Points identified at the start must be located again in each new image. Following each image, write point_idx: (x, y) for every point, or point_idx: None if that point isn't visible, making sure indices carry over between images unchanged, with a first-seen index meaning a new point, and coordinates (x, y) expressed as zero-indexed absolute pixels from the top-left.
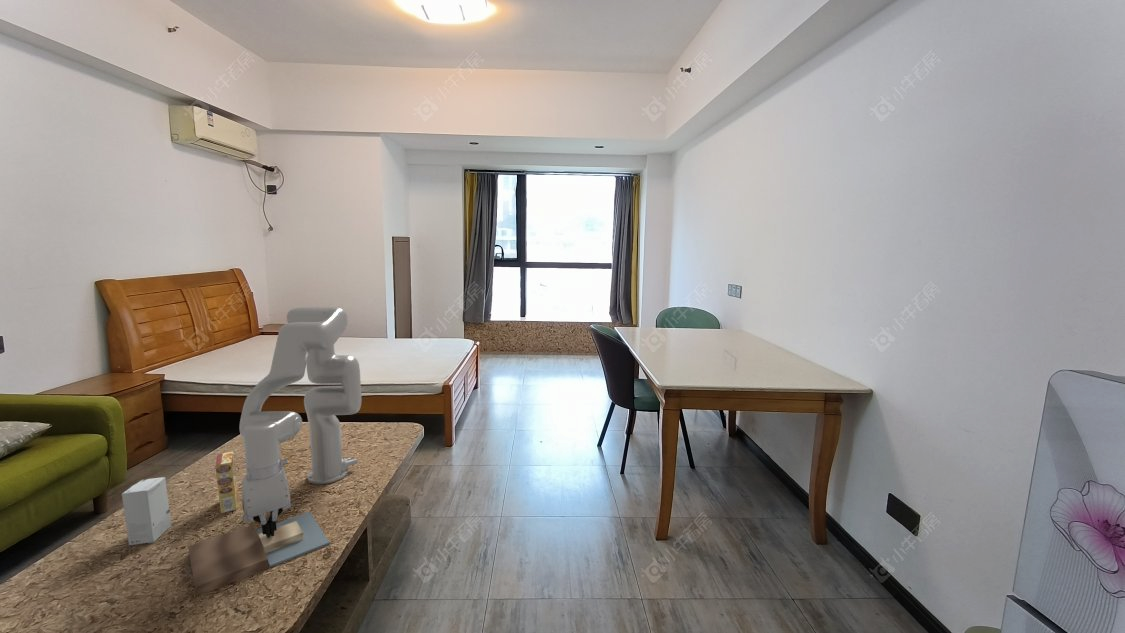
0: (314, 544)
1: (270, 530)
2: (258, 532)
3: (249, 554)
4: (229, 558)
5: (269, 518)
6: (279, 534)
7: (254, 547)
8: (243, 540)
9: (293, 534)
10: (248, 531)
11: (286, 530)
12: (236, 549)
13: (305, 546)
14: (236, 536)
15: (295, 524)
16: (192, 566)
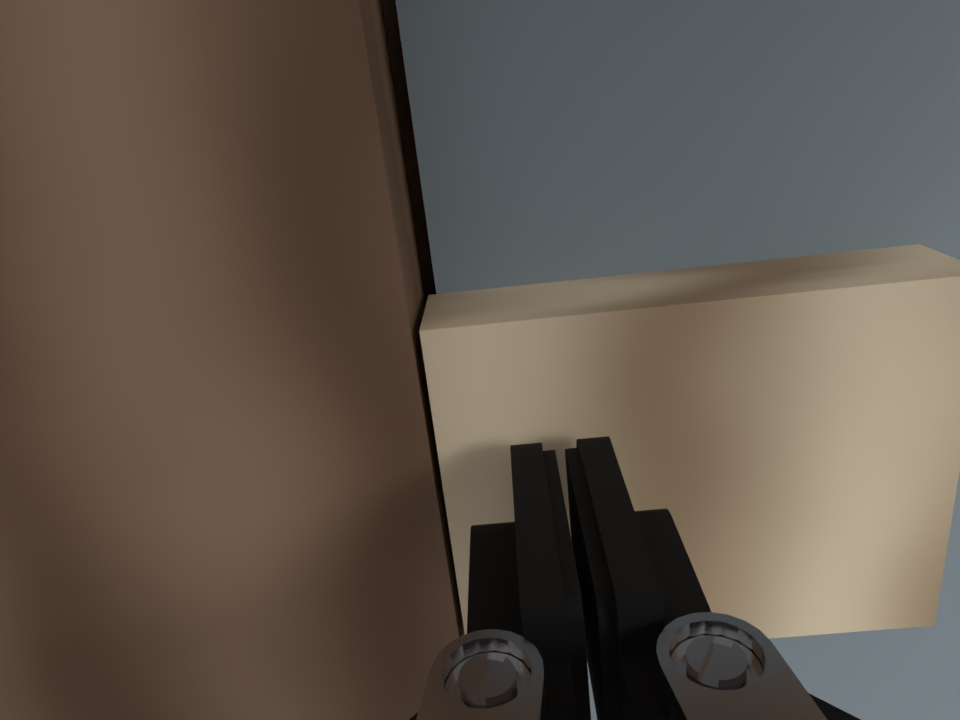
0: (932, 699)
1: (585, 634)
2: (430, 34)
3: (322, 704)
4: (118, 668)
5: (627, 716)
6: (679, 506)
7: (371, 612)
8: (226, 375)
9: (826, 608)
10: (274, 133)
11: (782, 464)
12: (166, 535)
13: (849, 688)
14: (105, 189)
15: (939, 375)
16: None
